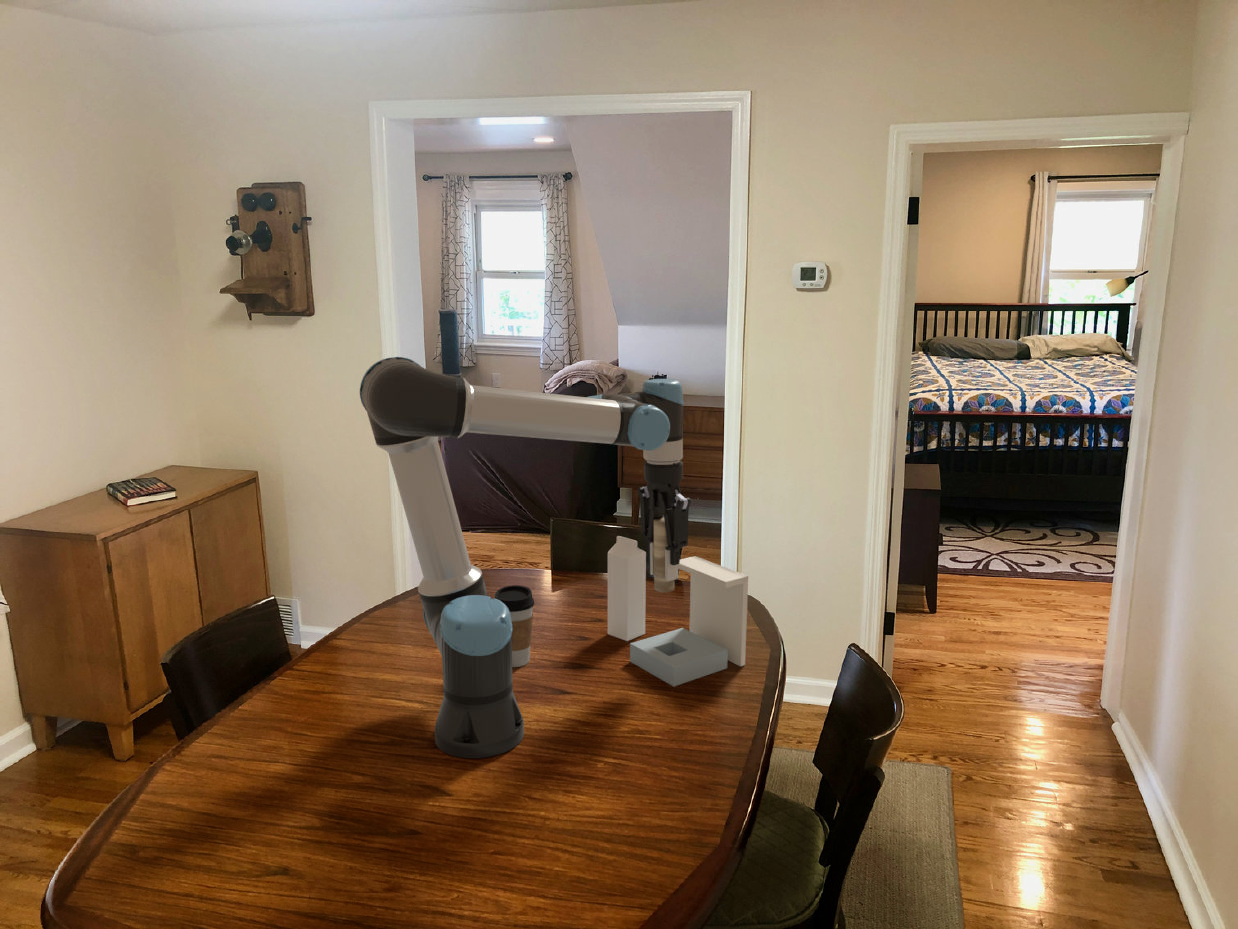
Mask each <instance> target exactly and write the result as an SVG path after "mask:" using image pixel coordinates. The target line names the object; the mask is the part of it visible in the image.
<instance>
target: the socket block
mask: <svg viewBox="0 0 1238 929" xmlns="http://www.w3.org/2000/svg"><path fill="white" fill-rule="evenodd" d="M728 661H729V660H728V650H727V649H725V648H723V647H721V646H719V645H717V644H715V643H713V642H711V641H709V640H707V639H705V638H703V637H701V636H699V635H696V634H694V633H692V632H690V630H688V629H686V628H684V627H681V628H678V629H674V630H671V631H667V632H665V633H660V634H657V635H653V636H651V637H647V638H644V639H641V640H637V641H636V640H635V641H634V642H630V643H629V662H630V663H632V664H634V665H636V666H637V667H639V668H640V669H642V670H644V671H646V672H648V673H649V674H651V675H652V676H654V677H656V678H658V679H660V680H661V681H663V682H664V683H666V684H668V685H670V686H672V687H677V686H679V685H682V684H685V683H688V682H691V681H694V680H696V679H700V678H703V677H706V676H709V675H711V674H715V673H717V672H720V671H724V670H726V669H728Z"/></svg>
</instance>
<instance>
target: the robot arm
mask: <svg viewBox="0 0 1238 929" xmlns="http://www.w3.org/2000/svg"><path fill="white" fill-rule="evenodd" d="M359 386H360V387H359V398H360V401H361V405H362V407H363V408H364V410H365V411H366V412H367V417H368V420H369V424H370V427H371V431H372V434H373V438H374V440H375V444H376V446H377V447H378V448H380V449H382V450H384V451H386V452H387V453H388V456H389V461H390V464H391V467H392V471H393V474H394V478H395V481H396V485H397V488H398V492H399V495H400V499H401V503H402V506H403V509H404V514H405V516H406V520H407V523H408V527H409V532H410V534H411V538H412V541H413V544H414V548H415V552H416V555H417V559H418V562H419V563H418V564H419V565H420V569H421V572H422V573H421V574H422V577H423V578H422V579H421V581H420V582H419V584H418V586H417V591H418V594H419V598H420V601H421V604H422V614H423V615H422V616H423V620H424V624H425V626H426V628H427V631H428V632H429V633H430V635H431V636H432V639H433V641H434V643H435V645H436V648H437V649H438V652H439V653H440V656H441V661H442V662H441V666H442V684H443V686H442V687H443V688H442V689H443V698H442V701H441V705H440V707H439V710H438V714H437V718H436V721H435V723H434V724H435V725H434V742H435V745H436V746H437V748H438V749H440V750H441V752H442V753H445V754H447V755H450V756H453V757H457V758H463V759H482V758H489V757H494V756H497V755H501V754H504V753H506V752H509V751H510V750H512V749H514V748H515V747H517V746H518V745H519V744H520V742H522V740H523V739H524V736H525V722H524V717H523V714H522V712H521V710H520V706H519V704H518V702H517V699H516V696H515V694H514V691H513V690H514V687H513V667H512V621H511V617H510V612H509V609H508V608H507V606H506V605H505V604H504V603H503V602H501V601H500V600H498V599H495V598H492V597H491V596H490V595H488V592H487V587H486V583H485V580H484V577H483V572H482V569H480V568H479V567H478V566H476V565H473V564H472V563H471V561H470V557H469V553H468V552H469V551H468V549H467V545H466V542H465V537H464V535H463V531H462V530H463V529H462V526H461V522H460V519H459V514H458V511H457V508H456V504H455V500H454V496H453V493H452V488H451V485H450V482H449V477H448V474H447V470H446V466H445V463H444V459H443V455H442V452H441V448H440V447H441V446H440V444H439V438H455V439H459V438H461V437H462V436H463V435H464V434H466V433H472V434H482V435H483V434H484V435H497V436H498V435H499V436H506V437H507V436H509V437H510V436H511V437H522V438H523V437H524V438H533V439H535V438H536V439H547V440H560V441H561V440H562V441H569V442H570V441H572V442H583V443H584V442H585V443H598V444H606V445H607V444H609V445H615V446H616V445H617V446H627V447H628V446H629V447H634V448H636V449H637V450H641V451H643V454H642V455H643V459H644V460H645V461H644V462H643V478H644V481H646V482H647V484H646V486H641V487H638V488H637V494H638V496H639V506H640V507H639V508H640V533H641V536H642V537H643V538H644V537H645V538H646V540H647V542H648V555H649V559H650V560H649V562H650V563H649V566H650V567H649V568H650V570H649V571H650V572H649V573H650V575H651V576H654V519H658V518H664V521H665V528H666V535H667V543H668V547H665V581H671V580H674V581H675V580H679V569H678V564H679V562H680V554H681V553H680V552H681V548H685V547H688V545H689V544H688V543H689V542H688V541H689V510H690V506H691V502H692V500H691V498H690V497H685V496H683V495H682V494H681V493H682V492H681V487H680V483H681V482H682V481H683V478H684V462H683V461H682V459H683V458H684V451H683V450H684V449H683V448H684V445H683V444H684V443H683V442H684V440H683V438H684V436H683V433H684V432H683V430H684V428H683V426H684V425H683V424H684V423H683V422H684V421H683V420H684V419H683V417H684V404H685V403H684V393H683V386H682V384H681V382H680V381H679V380H676V379H670V378H653V379H647V380H645V381H644V382H643V383H642V388H641V391H638V392H630V393H629V392H627V393H610V394H602V393H600V394H599V395H591V396H590V395H589V396H587V397H584V396H577V395H576V396H575V395H566V394H557V393H548V392H539V391H529V390H520V389H512V388H511V389H510V388H504V387H503V388H501V387H500V388H499V387H493V386H484V385H483V386H482V385H473V384H470V383H469V382H468V381H467V379H466V378H465V377H457V376H451V375H446V374H443V373H438V372H435V371H432V370H430V369H427V368H424V367H422V365H421V364H419V363H418V362H416V361H414V360H412V359H411V358H408V357H404V356H393V357H387V358H382V359H380V360H378V361H376V362H374V363H373V364H372V365H371V366H370V367H369V368H368V369H367V370H366V371H365V373H364V375H363V377H362V379H361V382H360V385H359ZM673 542H674V543H673Z"/></svg>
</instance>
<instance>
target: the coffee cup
mask: <svg viewBox="0 0 1238 929" xmlns="http://www.w3.org/2000/svg"><path fill="white" fill-rule="evenodd" d="M494 599H498V600H500V601H501V602H503V603H504V604H505V605H506V606H507V608H508V609H509V612H510V617H511V621H512V668H518V667H519V668H520V667H524V666H526V665H527V664H528V663H529V662H530V659H531V644H532V643H531V642H532V631H533V622H534V621H533V618H534V613H533V607H534V606H535V599H534V598H533V592H532V589H530V588H529V587H528V586H524V585H521V584H520V585H517V584H516V585H506V586H504V587H501V588H499V589H498V590H497V591H496V592H495V594H494Z"/></svg>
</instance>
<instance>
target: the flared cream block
mask: <svg viewBox="0 0 1238 929" xmlns="http://www.w3.org/2000/svg"><path fill="white" fill-rule="evenodd" d="M678 570H681V571H683V572H686V573H688V574H690V587H689V588H690V589H689V590H690V592H689V594H690V595H689V601H690V602H689V631H690V632H692V633H694V634H696V635H699V636H701V637H703V638H705V639H707V640H709V641H711V642H713V643H715V644H717V645H719V646H721V647H723V648H725V649H727V650H728V660H727V661H729V662H730V663H733V664H735V665H737V666H738V667H743V666H746V652H747V651H746V650H747V645H746V644H747V624H748V623H747V620H748V618H747V617H748V595H749V594H748V590H749V589H748V588H749V576H748V575H746V574H743V573H741V572H738V571H736V570H734V569H730V568H728V567H726V566H723V565H720V564H719V563H718V564H717V563H715V562H712V561H709V560H707V559H704V558H702V557H699V556H696V555H693V556H689V557H684V558H682V559H680V562H679V564H678Z"/></svg>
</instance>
